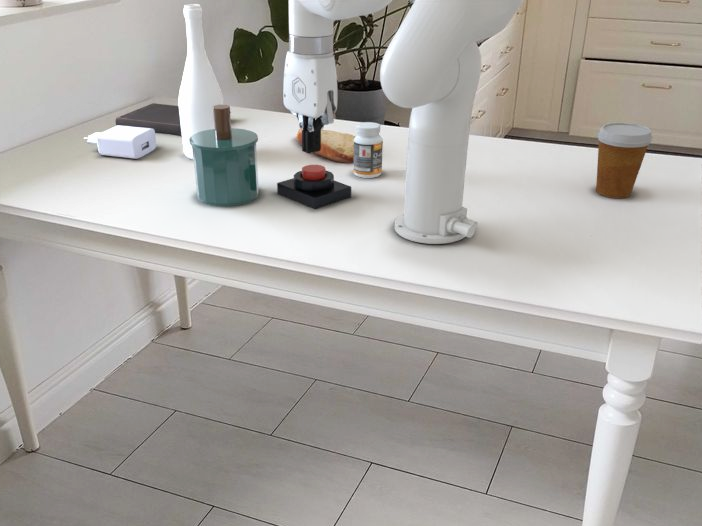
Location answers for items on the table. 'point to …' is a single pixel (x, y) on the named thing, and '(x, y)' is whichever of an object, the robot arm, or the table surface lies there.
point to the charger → (124, 141)
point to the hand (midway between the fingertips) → (311, 150)
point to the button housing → (314, 190)
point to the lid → (223, 134)
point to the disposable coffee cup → (620, 157)
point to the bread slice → (334, 146)
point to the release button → (313, 172)
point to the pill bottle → (368, 150)
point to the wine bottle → (196, 83)
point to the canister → (226, 176)
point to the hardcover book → (154, 118)
